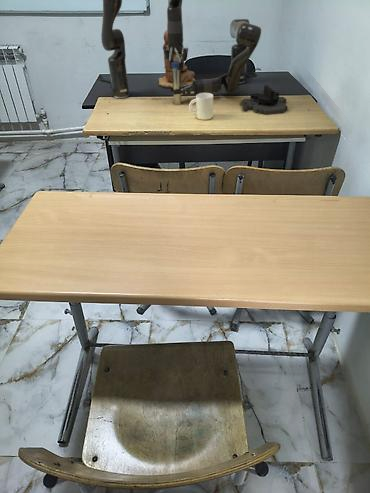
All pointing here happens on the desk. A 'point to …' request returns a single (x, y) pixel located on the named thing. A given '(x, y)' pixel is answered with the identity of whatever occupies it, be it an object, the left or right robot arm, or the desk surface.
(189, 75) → the sculpture
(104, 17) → the left robot arm
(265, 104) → the abstract sculpture
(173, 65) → the lid
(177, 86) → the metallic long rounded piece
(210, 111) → the mug
